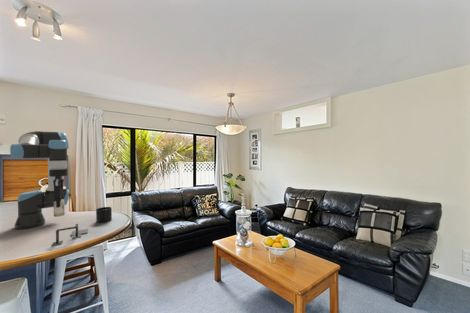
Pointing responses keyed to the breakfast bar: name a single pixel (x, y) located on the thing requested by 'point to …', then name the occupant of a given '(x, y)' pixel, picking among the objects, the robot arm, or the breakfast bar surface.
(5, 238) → the breakfast bar surface
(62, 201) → the beech peg
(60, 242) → the wire
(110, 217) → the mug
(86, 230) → the coaster
